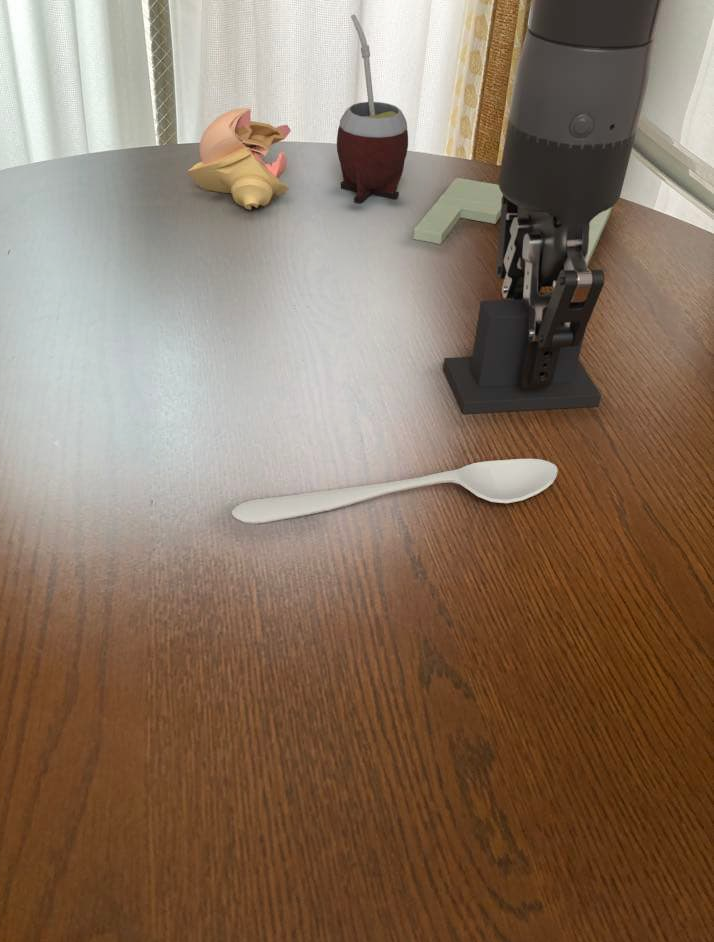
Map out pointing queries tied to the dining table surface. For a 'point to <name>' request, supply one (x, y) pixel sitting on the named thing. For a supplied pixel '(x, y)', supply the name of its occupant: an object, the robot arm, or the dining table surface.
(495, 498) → the spoon
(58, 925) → the dining table surface
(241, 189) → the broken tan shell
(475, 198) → the sage stepped arch block
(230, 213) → the dining table surface
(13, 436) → the dining table surface
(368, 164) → the mate gourd
